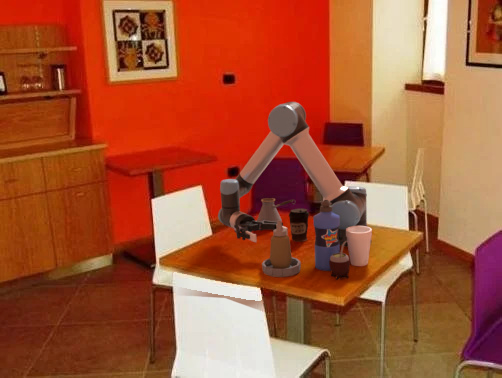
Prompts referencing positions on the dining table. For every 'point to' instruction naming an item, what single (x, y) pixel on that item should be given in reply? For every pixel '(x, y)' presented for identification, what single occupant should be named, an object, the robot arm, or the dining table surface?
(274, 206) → the coffee pot
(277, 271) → the dish
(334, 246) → the water bottle
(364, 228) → the foam cup
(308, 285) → the dining table surface
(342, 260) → the mate gourd
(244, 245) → the dining table surface
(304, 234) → the coffee cup
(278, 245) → the squeeze bottle
